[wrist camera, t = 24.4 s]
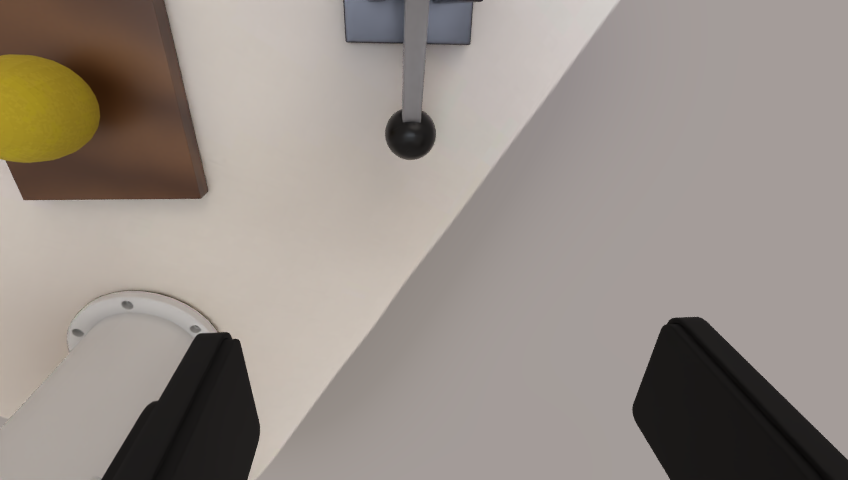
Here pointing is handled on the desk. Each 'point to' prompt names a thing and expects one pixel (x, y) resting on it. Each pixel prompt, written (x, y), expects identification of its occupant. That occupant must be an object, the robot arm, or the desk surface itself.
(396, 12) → the lever stand
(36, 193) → the board
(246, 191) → the desk surface
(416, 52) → the lever
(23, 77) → the lemon
